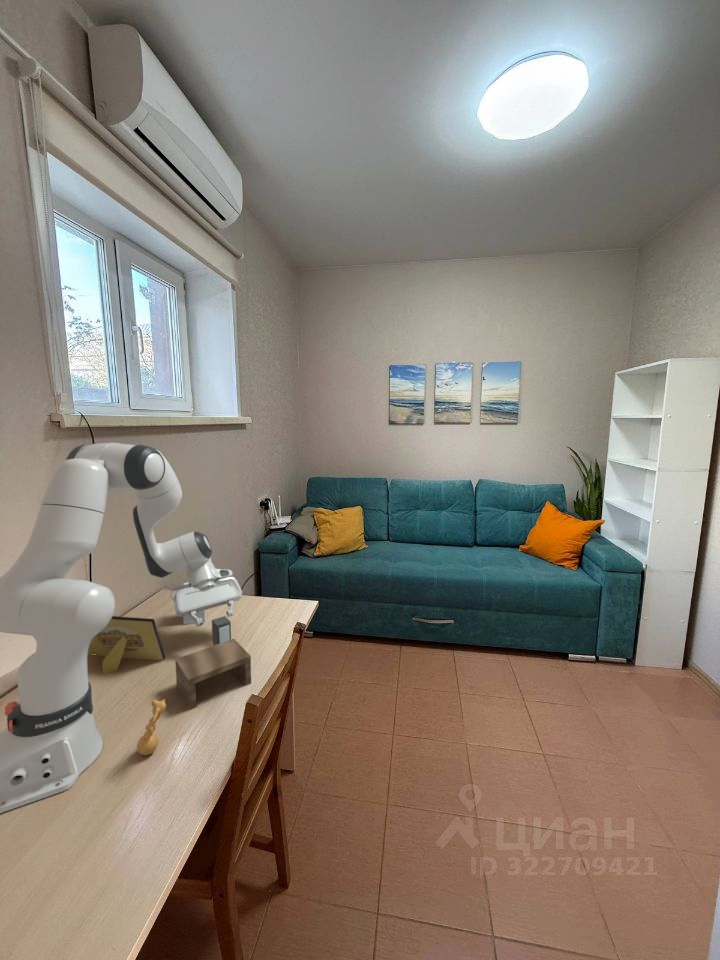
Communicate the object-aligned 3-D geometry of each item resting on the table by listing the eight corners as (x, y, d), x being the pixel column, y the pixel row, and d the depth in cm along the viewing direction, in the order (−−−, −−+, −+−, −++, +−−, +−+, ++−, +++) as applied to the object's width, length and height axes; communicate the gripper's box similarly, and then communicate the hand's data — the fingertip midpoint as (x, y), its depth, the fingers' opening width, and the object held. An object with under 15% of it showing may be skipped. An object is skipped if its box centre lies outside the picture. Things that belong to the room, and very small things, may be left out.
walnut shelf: (189, 709, 96) (188, 679, 95) (176, 686, 105) (175, 659, 104) (251, 683, 107) (250, 655, 106) (234, 664, 115) (234, 638, 114)
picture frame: (165, 657, 117) (159, 613, 114) (146, 679, 109) (139, 632, 105) (93, 652, 120) (85, 608, 116) (69, 673, 111) (60, 627, 107)
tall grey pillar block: (218, 660, 116) (217, 626, 115) (213, 653, 120) (211, 619, 118) (231, 655, 119) (230, 621, 118) (225, 649, 123) (224, 616, 121)
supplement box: (185, 615, 144) (183, 582, 142) (207, 612, 146) (205, 580, 144) (182, 625, 137) (181, 590, 135) (205, 622, 139) (204, 588, 137)
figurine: (146, 737, 88) (143, 688, 86) (174, 735, 88) (171, 686, 87) (129, 769, 79) (125, 716, 78) (161, 767, 80) (157, 713, 79)
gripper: (171, 584, 119) (182, 627, 113) (236, 569, 132) (249, 606, 126) (167, 593, 123) (178, 635, 117) (231, 577, 136) (243, 614, 130)
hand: (215, 620), depth 121 cm, fingers open, 8 cm apart
